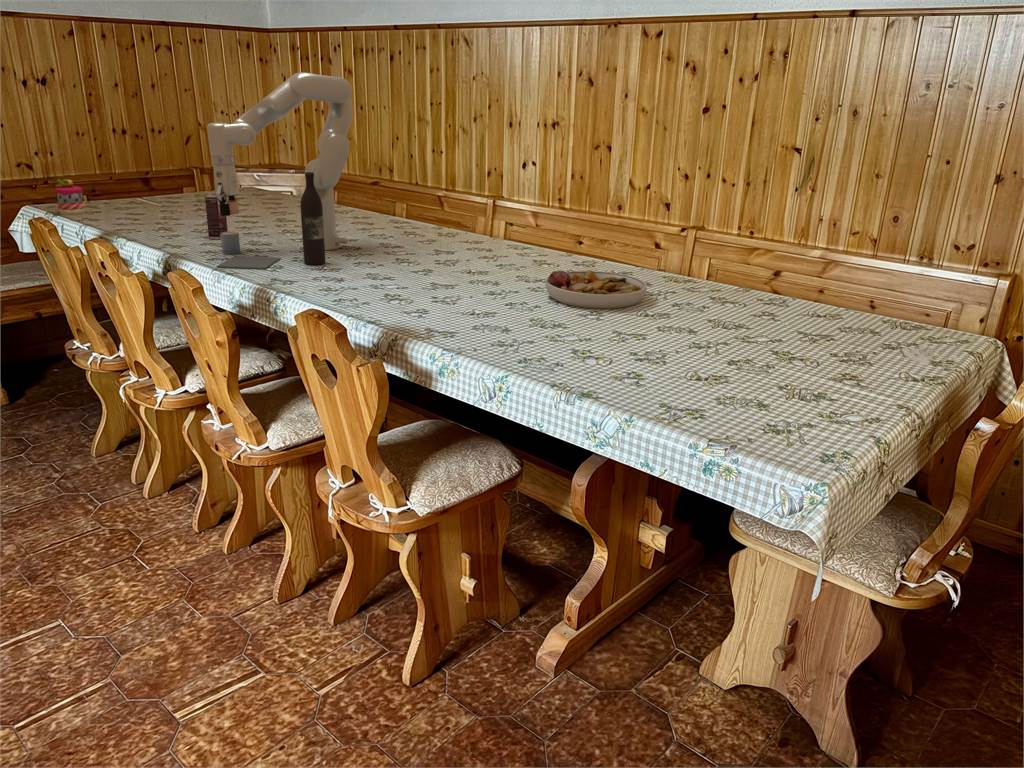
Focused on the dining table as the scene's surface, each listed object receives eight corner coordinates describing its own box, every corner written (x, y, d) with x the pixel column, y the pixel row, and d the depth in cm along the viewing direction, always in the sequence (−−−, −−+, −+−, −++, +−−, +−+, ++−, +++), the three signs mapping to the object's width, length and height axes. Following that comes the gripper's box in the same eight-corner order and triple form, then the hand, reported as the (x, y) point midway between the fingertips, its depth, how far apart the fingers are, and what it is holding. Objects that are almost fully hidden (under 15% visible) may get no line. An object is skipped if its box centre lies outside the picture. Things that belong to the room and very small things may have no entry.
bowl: (635, 287, 250) (637, 262, 247) (654, 313, 222) (657, 286, 219) (541, 285, 249) (542, 260, 246) (548, 311, 221) (550, 283, 218)
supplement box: (220, 239, 301) (216, 197, 295) (208, 239, 301) (203, 196, 295) (229, 235, 309) (224, 194, 303) (216, 235, 309) (212, 193, 303)
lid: (242, 211, 277) (240, 200, 276) (235, 214, 271) (233, 203, 270) (223, 211, 278) (222, 200, 276) (216, 214, 271) (214, 203, 270)
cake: (61, 211, 349) (55, 177, 343) (88, 211, 352) (82, 176, 346) (56, 215, 339) (50, 179, 334) (83, 215, 342) (78, 179, 337)
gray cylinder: (243, 251, 282) (241, 231, 279) (236, 254, 276) (235, 234, 274) (226, 250, 282) (224, 231, 279) (220, 254, 276) (217, 234, 274)
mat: (280, 259, 271) (280, 257, 271) (265, 269, 256) (265, 267, 256) (234, 257, 272) (234, 256, 271) (216, 267, 257) (216, 266, 256)
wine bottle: (304, 265, 263) (298, 173, 252) (303, 261, 269) (297, 171, 259) (326, 265, 265) (321, 173, 254) (325, 260, 271) (320, 171, 261)
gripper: (224, 163, 260) (231, 218, 266) (242, 158, 276) (248, 210, 282) (201, 163, 260) (209, 218, 266) (221, 158, 276) (228, 209, 283)
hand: (229, 213), depth 274 cm, fingers closed on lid, 6 cm apart
